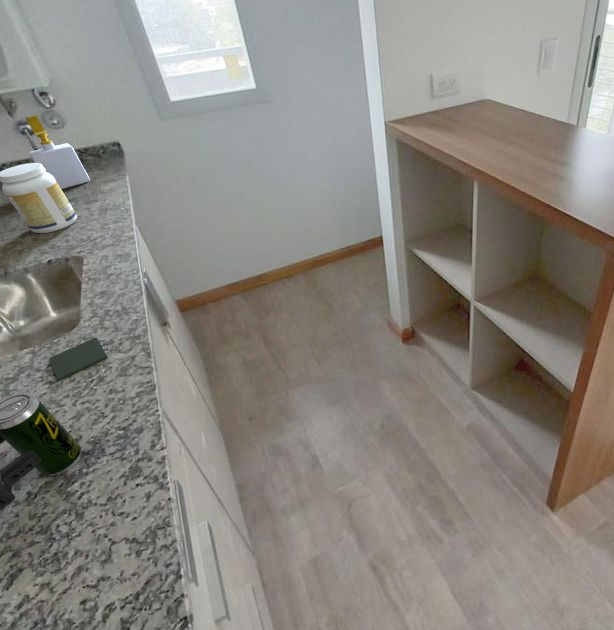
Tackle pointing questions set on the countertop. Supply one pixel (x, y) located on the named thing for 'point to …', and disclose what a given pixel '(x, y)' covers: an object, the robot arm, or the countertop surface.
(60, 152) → the soap bottle
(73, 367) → the coaster
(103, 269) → the countertop surface
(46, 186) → the supplement tub
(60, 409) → the countertop surface
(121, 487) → the countertop surface
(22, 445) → the beer can
